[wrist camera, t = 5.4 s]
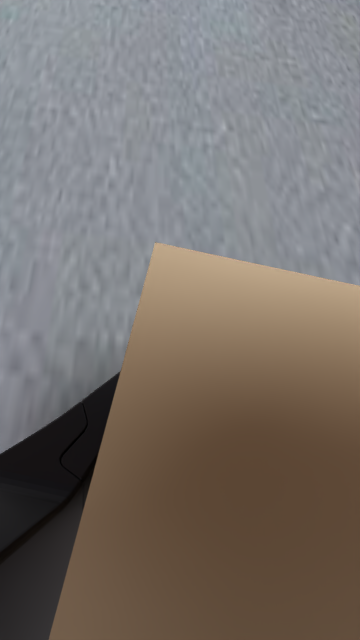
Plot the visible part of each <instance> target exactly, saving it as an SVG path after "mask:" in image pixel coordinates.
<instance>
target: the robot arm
mask: <svg viewBox="0 0 360 640" xmlns="http://www.w3.org/2000/svg"><path fill="white" fill-rule="evenodd" d="M120 372H121V371H120ZM120 372H119V373H117V374H116V375H115V376H114V377H112V378H111V379H110V380H108V381H107V382H106V383H104V384H103V385H102V386H100V387H99V388H98V389H96V390H95V391H94V392H92V393H91V394H90V395H89V396H87V397H86V398H85V399H83V400H82V402H79V403H78V404H77V405H75V406H74V407H73V408H71V409H70V410H68V411H67V412H66V413H64V414H63V415H61V416H60V417H59V418H57V419H56V420H54V421H53V422H51V423H50V424H48V425H47V426H45V427H43V428H42V429H40V430H39V431H37V432H36V433H34V434H32V435H31V436H29V437H27V438H26V439H24V440H23V441H21V442H19V443H18V444H16V445H14V446H13V447H11V448H9V449H8V450H6V451H5V452H3V453H1V454H0V640H49V636H50V632H51V629H52V625H53V621H54V618H55V614H56V610H57V606H58V603H59V599H60V595H61V592H62V588H63V584H64V580H65V577H66V573H67V569H68V565H69V562H70V558H71V554H72V551H73V547H74V543H75V539H76V536H77V532H78V528H79V525H80V521H81V517H82V513H83V510H84V506H85V502H86V499H87V495H88V491H89V487H90V484H91V480H92V476H93V472H94V469H95V465H96V461H97V458H98V454H99V450H100V446H101V443H102V439H103V435H104V432H105V428H106V424H107V420H108V417H109V413H110V409H111V406H112V402H113V398H114V394H115V391H116V387H117V383H118V379H119V376H120Z"/></svg>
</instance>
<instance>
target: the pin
mask: <svg viewBox="0 0 360 640" xmlns="http://www.w3.org/2000/svg"><path fill="white" fill-rule="evenodd" d="M49 640H360V286H357V285H353V284H348V283H343V282H339V281H334V280H329V279H324V278H320V277H315V276H310V275H306V274H301V273H296V272H292V271H287V270H282V269H278V268H273V267H268V266H264V265H259V264H254V263H250V262H245V261H240V260H236V259H231V258H226V257H222V256H217V255H212V254H208V253H203V252H198V251H194V250H189V249H184V248H179V247H175V246H170V245H165V244H161V243H156V242H155V246H154V249H153V253H152V257H151V260H150V264H149V268H148V272H147V275H146V279H145V283H144V286H143V290H142V294H141V298H140V301H139V305H138V309H137V313H136V316H135V320H134V324H133V327H132V331H131V335H130V339H129V342H128V346H127V350H126V353H125V357H124V361H123V365H122V368H121V372H120V376H119V379H118V383H117V387H116V391H115V394H114V398H113V402H112V406H111V409H110V413H109V417H108V420H107V424H106V428H105V432H104V435H103V439H102V443H101V446H100V450H99V454H98V458H97V461H96V465H95V469H94V472H93V476H92V480H91V484H90V487H89V491H88V495H87V499H86V502H85V506H84V510H83V513H82V517H81V521H80V525H79V528H78V532H77V536H76V539H75V543H74V547H73V551H72V554H71V558H70V562H69V565H68V569H67V573H66V577H65V580H64V584H63V588H62V592H61V595H60V599H59V603H58V606H57V610H56V614H55V618H54V621H53V625H52V629H51V632H50V636H49Z"/></svg>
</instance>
